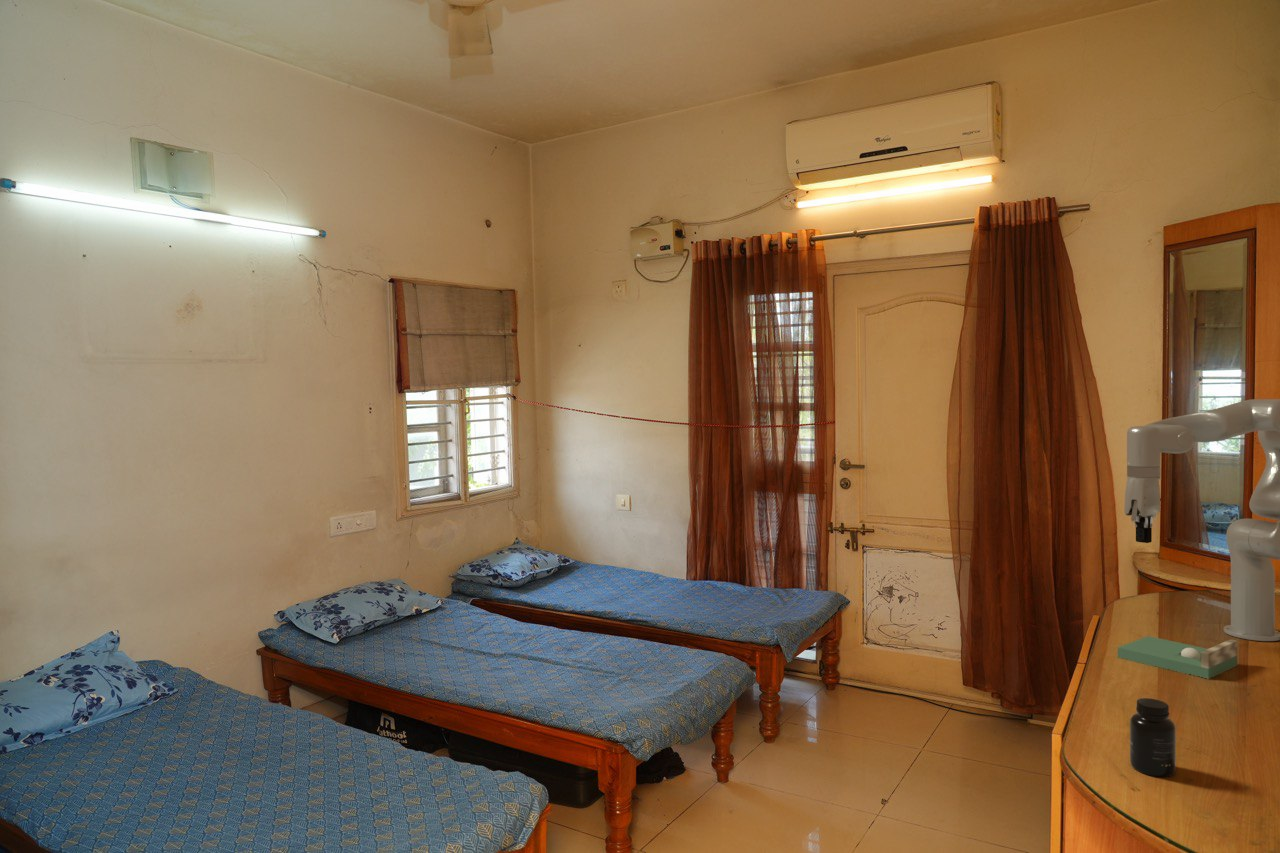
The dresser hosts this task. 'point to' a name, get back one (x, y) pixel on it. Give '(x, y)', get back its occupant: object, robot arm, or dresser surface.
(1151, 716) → the supplement bottle
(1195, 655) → the ball
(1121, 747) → the dresser surface
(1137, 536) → the robot arm
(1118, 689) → the dresser surface
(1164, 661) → the putting green
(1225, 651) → the backboard
